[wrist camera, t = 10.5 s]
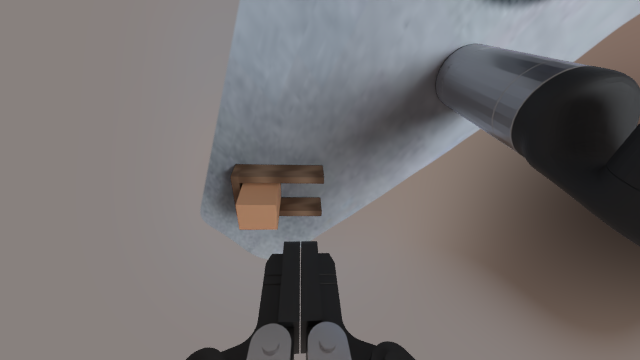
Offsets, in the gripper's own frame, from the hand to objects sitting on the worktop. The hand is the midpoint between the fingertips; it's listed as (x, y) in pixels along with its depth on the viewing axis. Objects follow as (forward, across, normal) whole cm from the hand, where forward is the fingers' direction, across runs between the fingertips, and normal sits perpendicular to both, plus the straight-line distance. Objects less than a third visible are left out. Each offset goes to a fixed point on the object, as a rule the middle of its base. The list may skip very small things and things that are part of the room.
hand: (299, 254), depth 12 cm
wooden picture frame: (+32, +3, +18) cm, 37 cm away
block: (+32, +6, +18) cm, 37 cm away
